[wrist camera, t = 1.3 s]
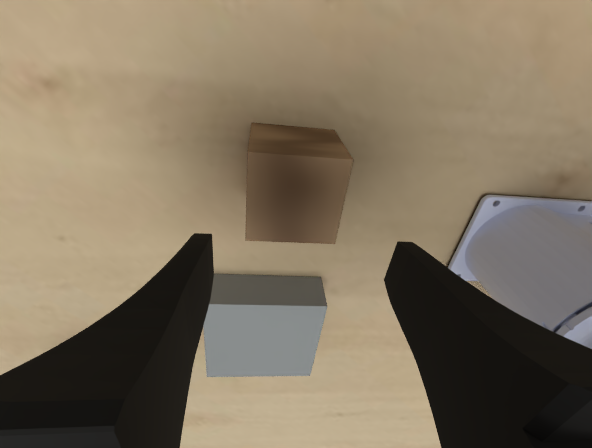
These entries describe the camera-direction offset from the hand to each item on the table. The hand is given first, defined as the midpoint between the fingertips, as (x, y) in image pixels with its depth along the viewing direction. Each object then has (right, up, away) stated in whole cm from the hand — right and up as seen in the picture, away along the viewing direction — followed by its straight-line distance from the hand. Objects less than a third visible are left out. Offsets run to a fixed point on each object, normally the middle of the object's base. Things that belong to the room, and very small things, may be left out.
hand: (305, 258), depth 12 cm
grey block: (-3, -6, +15) cm, 17 cm away
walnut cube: (-1, +5, +8) cm, 9 cm away
